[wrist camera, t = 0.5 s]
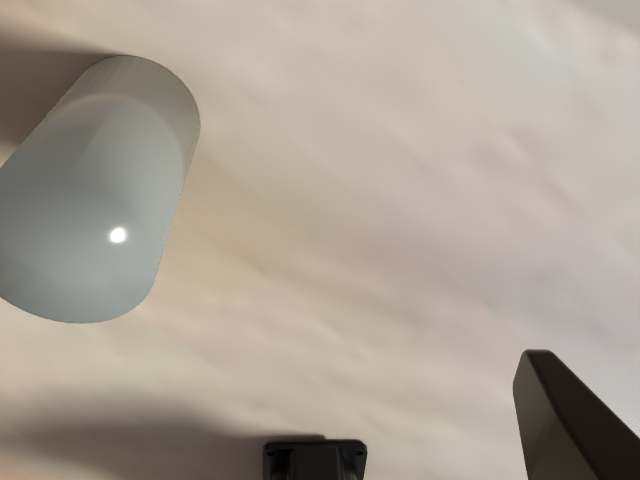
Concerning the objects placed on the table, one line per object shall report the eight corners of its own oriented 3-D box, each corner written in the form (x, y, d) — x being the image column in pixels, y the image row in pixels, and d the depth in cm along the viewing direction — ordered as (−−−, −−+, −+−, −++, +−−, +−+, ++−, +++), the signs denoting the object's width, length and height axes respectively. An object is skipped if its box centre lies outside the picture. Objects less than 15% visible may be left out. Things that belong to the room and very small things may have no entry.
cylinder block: (204, 175, 24) (166, 323, 17) (84, 172, 24) (-7, 323, 17) (195, 57, 21) (143, 177, 14) (58, 53, 21) (-68, 172, 14)
